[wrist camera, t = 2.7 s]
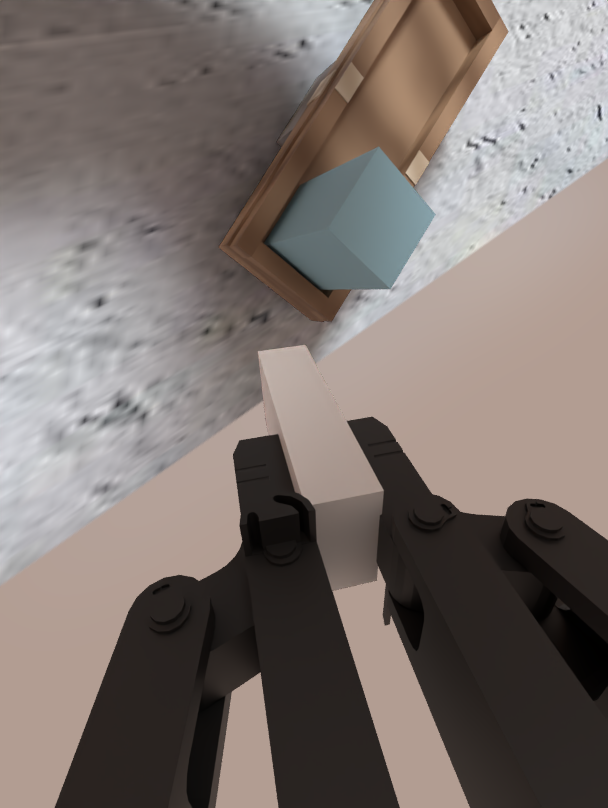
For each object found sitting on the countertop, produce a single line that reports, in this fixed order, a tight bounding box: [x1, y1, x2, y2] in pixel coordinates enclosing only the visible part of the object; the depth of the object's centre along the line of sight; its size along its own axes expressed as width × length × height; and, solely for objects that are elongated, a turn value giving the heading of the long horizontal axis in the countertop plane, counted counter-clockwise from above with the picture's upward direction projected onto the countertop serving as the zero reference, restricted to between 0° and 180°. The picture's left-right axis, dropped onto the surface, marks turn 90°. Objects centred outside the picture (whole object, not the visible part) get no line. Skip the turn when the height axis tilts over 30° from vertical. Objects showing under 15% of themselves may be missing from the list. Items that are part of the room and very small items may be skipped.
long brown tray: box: [219, 0, 508, 322], centre depth 33 cm, size 26×9×7 cm, turn 144°
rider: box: [264, 147, 436, 290], centre depth 27 cm, size 5×5×9 cm
